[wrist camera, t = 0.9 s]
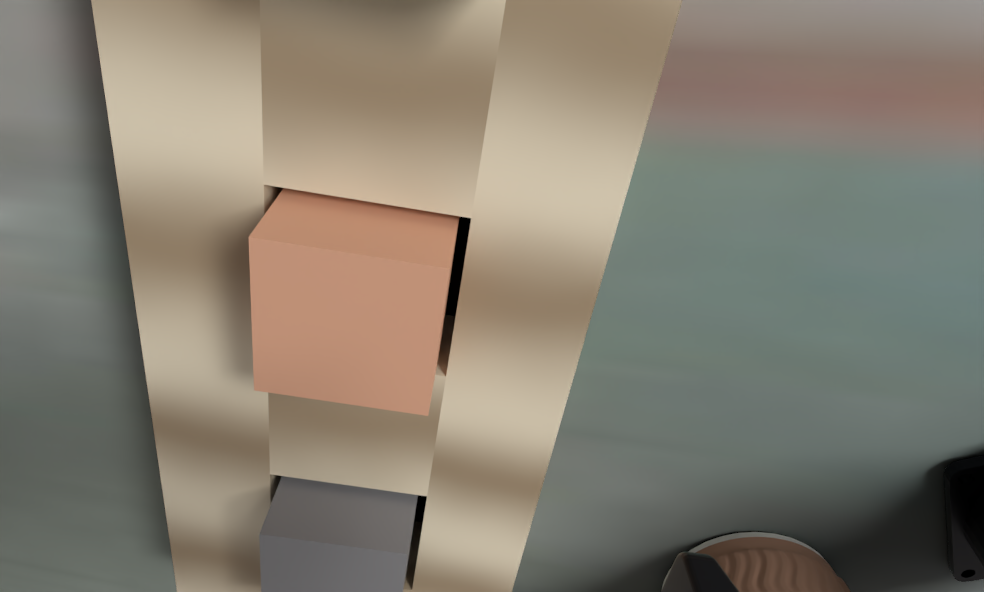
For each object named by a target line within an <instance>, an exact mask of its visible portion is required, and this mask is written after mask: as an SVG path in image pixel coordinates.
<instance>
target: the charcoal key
mask: <svg viewBox="0 0 984 592" xmlns="http://www.w3.org/2000/svg"><path fill="white" fill-rule="evenodd" d="M417 501H418V495H414V494H406V493H399V492H392V491H385V490H378V489H371V488H364V487H357V486H350V485H343V484H335V483H328V482H321V481H314V480H307V479H300V478H293V477H286V476H282V477H281V480H280V482H279V485H278V487H277V490H276V492H275V495H274V498H273V500H272V503H271V505H270V508H269V510H268V513H267V516H266V518H265V521H264V523H263V526H262V528H261V531H260V533H259V541H260V569H261V592H403V590H404V584H405V578H406V572H407V566H408V560H409V554H410V548H411V541H412V534H413V528H414V521H415V514H416V508H417Z"/></svg>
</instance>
